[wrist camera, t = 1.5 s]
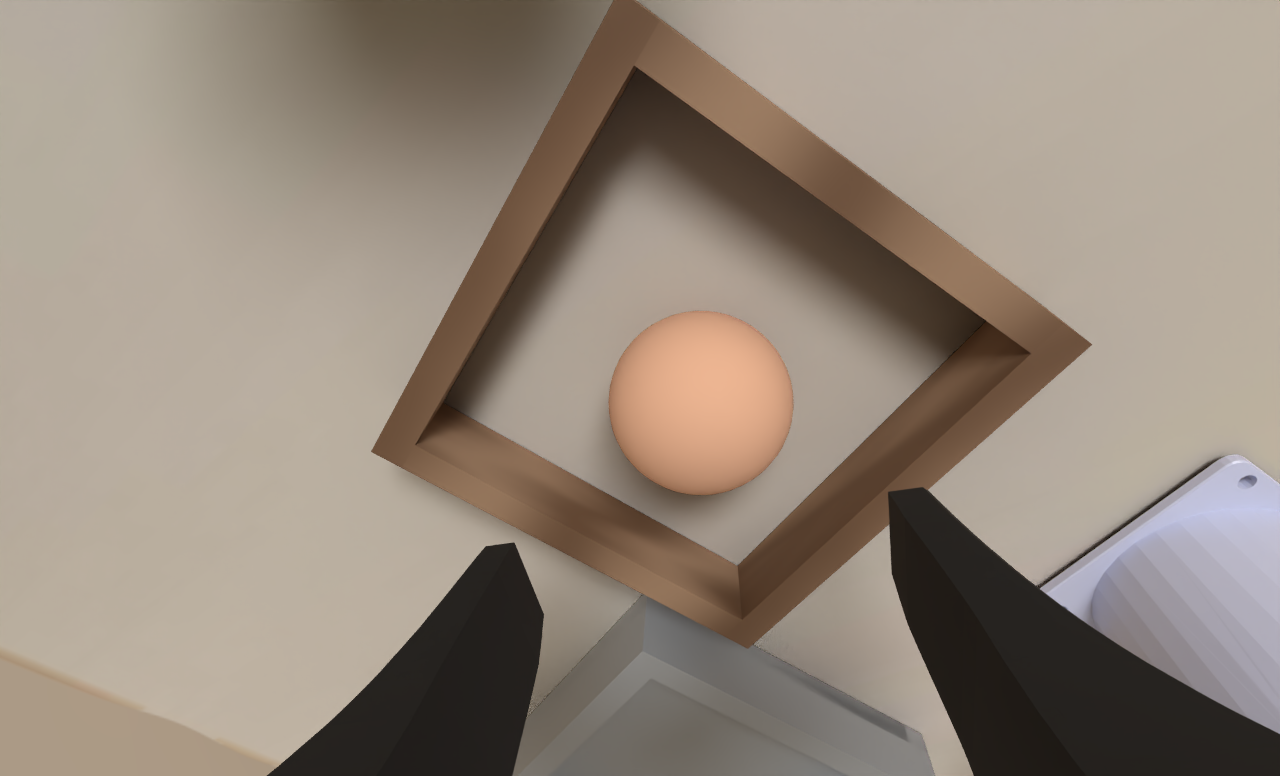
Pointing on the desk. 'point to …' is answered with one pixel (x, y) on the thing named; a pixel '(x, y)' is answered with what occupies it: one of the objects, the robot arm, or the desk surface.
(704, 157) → the desk surface
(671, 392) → the ball
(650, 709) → the tray
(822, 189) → the square wooden frame
